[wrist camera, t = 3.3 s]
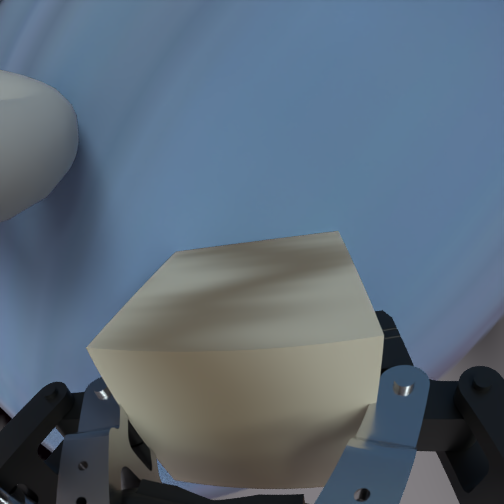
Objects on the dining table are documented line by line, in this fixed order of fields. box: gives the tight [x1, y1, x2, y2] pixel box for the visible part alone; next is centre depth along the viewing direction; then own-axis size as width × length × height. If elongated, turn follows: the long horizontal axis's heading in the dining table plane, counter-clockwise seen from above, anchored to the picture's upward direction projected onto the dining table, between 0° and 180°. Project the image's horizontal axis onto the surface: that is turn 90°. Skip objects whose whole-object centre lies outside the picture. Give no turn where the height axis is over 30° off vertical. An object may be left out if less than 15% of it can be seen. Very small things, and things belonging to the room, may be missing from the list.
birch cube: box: [86, 231, 384, 489], centre depth 9 cm, size 6×6×6 cm
